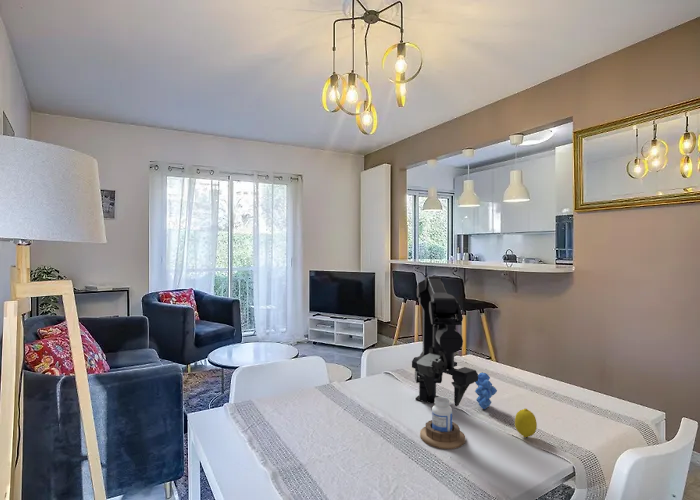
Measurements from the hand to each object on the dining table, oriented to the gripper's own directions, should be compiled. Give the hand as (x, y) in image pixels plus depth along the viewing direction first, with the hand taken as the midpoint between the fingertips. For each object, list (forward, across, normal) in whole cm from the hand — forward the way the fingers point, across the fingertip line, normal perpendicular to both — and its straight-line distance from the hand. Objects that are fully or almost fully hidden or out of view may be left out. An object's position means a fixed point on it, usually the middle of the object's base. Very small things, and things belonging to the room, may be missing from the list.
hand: (442, 400), depth 109 cm
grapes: (+11, -5, +27) cm, 30 cm away
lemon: (+11, +13, +19) cm, 25 cm away
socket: (+10, 0, 0) cm, 11 cm away
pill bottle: (+10, 0, 0) cm, 10 cm away
